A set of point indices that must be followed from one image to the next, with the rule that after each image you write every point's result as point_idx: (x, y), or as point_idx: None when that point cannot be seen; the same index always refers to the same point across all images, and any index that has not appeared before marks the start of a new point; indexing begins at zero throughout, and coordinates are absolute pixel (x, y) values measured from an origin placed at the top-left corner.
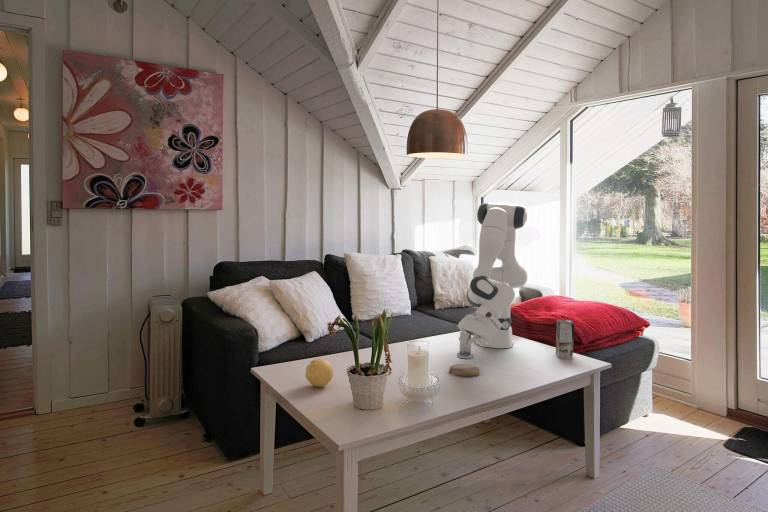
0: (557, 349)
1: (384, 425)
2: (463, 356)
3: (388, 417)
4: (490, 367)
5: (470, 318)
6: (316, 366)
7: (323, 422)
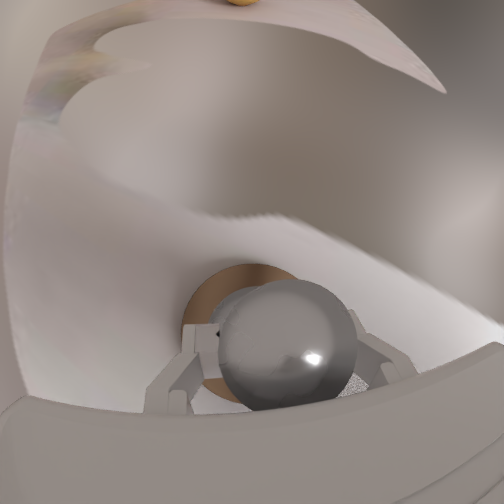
0: None
1: (48, 58)
2: (217, 306)
3: (62, 60)
4: None
5: (501, 478)
6: None
7: (105, 12)
